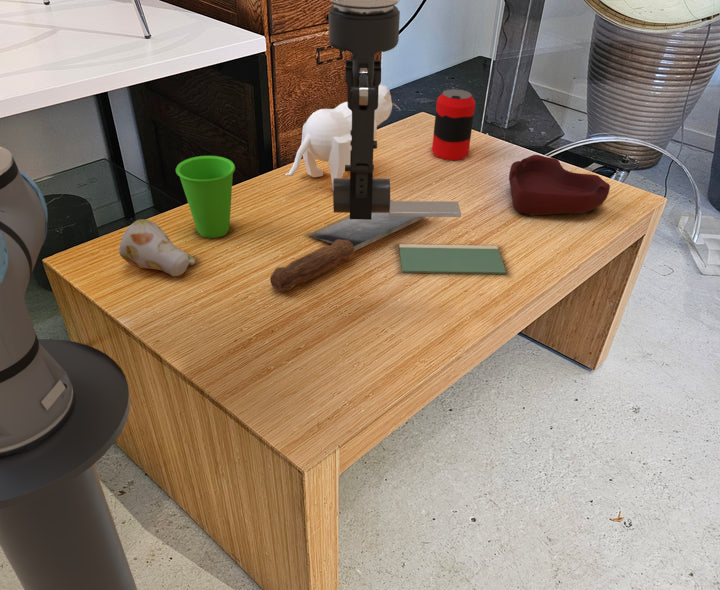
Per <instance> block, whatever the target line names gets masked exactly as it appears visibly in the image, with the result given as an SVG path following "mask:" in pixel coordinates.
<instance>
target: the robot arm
mask: <svg viewBox="0 0 720 590" xmlns="http://www.w3.org/2000/svg"><path fill="white" fill-rule="evenodd" d="M328 1H329V2H330V3H331V4H332V5H331V6H330V8H329V9H328V41H329V43H330V45H331V46H332V47H333V48H334V49H337V50H338V51H341V52H349V53H351V56H350V59H345V69H344V70H345V71H344V72H345V73H344V74H345V76H344V77H345V78H344V80H345V81H344V82H345V84H346V85H347V102H348V108H349V109H350V110H351V111H352V130H351V133H350V135H351V136H352V140H351V142H350V145H351V146H352V150H350V165H345V172H349V178H350V213H349V218H350V219H364V220H371V218H372V186H373V178H374V170H375V165H374V150H377V149H378V140H375V139H374V113H375V110H376V109H377V108H378V92H379V85H380V84H382V67H381V66H382V65H381V63H382V62H381V60H377V59H376V60H375V55H376V54H379V53H385V52H386V53H387V52H389V51H391V50H393V49H395V48H396V47H397V45H398V44H399V36H400V18H401V17H400V16H401V11H400V10H399V7H397V6H396V5H398V3H399V2H400V1H401V0H328ZM48 213H49V212H48V207H47V202H46V199H45V197H44V195H43V192H42V191H41V189H40V188H39V186H38V185H37V183H36V182H35V181H34V180H33V179H32V178H31V176H29V175H28V174H27V173H26V172H23V171H21V170H20V169H19V167H18V165H17V162H16V160H15V158H14V156H13V155H12V152H11V151H9V150H8V149H6V148H5V147H3V146H0V458H5V457H9V456H13V455H16V454H19V453H21V452H24V451H26V450H29V449H31V448H33V447H35V446H37V445H39V444H40V443H42V442H44V441H45V440H47V439H48V438H50V437H51V436H52V435H53V434H55V433H56V432H57V431H58V430H59V429H60V428H61V427H62V426H63V425H64V424H65V423H66V421H67V420H68V419H69V417H70V415H71V413H72V411H73V409H74V406H75V392H74V389H73V386H72V383H71V380H70V378H69V377H68V375H67V373H66V372H65V371H64V369H63V368H62V367H61V366H60V365H59V364H58V363H57V362H56V361H55V360H54V358H53V357H52V356H51V355H50V354H49V353H48V352H47V351H46V350H45V349H44V348H43V346H42V345H41V344H40V343H39V341H38V339H39V338H38V336H37V333H36V329H35V326H34V324H33V321H32V318H31V316H30V313H29V310H28V307H27V304H26V299H25V297H26V296H25V295H26V291H27V288H28V285H29V282H30V279H31V277H32V273H33V271H34V269H35V266H36V263H37V260H38V257H39V256H40V255H39V254H40V252H41V249H42V247H43V245H44V244H45V241H46V238H47V235H48V234H47V233H48V223H49V222H48V221H49V219H48V218H49V217H48V216H49V214H48Z"/></svg>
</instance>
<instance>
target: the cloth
mask: <svg viewBox="0 0 720 590" xmlns="http://www.w3.org/2000/svg"><path fill="white" fill-rule="evenodd" d="M398 250H399V257H400V265H401V273H403V274H442V275H443V274H451V275H452V274H456V275H464V274H465V275H507V271H506V268H505V265H504V262H503V259H502V255H501V253H500V250H499V247H498V245H487V244H486V245H483V244H482V245H481V244H479V245H478V244H422V243H421V244H417V243H416V244H415V243H412V244H411V243H409V244H408V243H406V244H405V243H399V244H398Z"/></svg>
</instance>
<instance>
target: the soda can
mask: <svg viewBox="0 0 720 590" xmlns="http://www.w3.org/2000/svg"><path fill="white" fill-rule="evenodd" d="M475 110H476V101H475V99H474V97H473V95H472V93H471V92H469V91H467V90H464V89H456V88H454V89H446V90H443V91H442V93H441V94H440V95H439V96H438V98H437V99H436V108H435V116H434V127H433V135H432V137H433V138H432V145H431V152H432V154H433V155H434V156H435V157H437V158H438V159H442V160H445V161H459V160H463V159H465V158H466V157H467V156H468V155H469V153H470V145H471V139H472V138H471V137H472V132H473V131H472V130H473V124H474V116H475Z"/></svg>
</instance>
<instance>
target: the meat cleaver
mask: <svg viewBox="0 0 720 590" xmlns="http://www.w3.org/2000/svg"><path fill="white" fill-rule="evenodd" d="M423 219H426V217H389V213H372V218H371V220H364V219H350V217H347V218H346V219H343V220H341V221H338V222H337V223H334V224H332V225H330V226H327V227H325V228H323V229H321V230H319V231H316V232H314V233H312V234H309V237H310V238H314V239H317V240H320V241H323V242H326V243H329V244H330V245H326V246H323V247H320V248H318V249H316V250H314V251H312V252H310V253H308V254H306V255H303V256H302V257H299V258H298V259H295V260H293V261H291V262H290V263H289V264H287V265H286V266H283V267H281V266H280V267H277V268H275V269H274V271H273V272H272V274H271V276H270V278H269V281H270V284H271V286H272V288H273V289H274V290H275V291H278V292H290V291H291V289H293V287H294V286H295V285H302V284H304V283H306V282H308V281H310V280H312V279H314V278H316V277H318V276H320V275H322V274H324V273H326V272H328V271H330V270H331V269H333V268H335V267H337V266H338V265H339V264H344V263H348V262H349V261H350V259H351V258H352V257H353V255H354V253H355V251H357V250H360V249H361V248H364V247H366V246H368V245H370V244H372V243H375V242H376V241H378V240H381V239H383V238H385V237H386V236H389V235H391V234H393V233H395V232H398V231H400V230H401V229H404V228H405V227H408V226H410V225H412V224H414V223H416V222H419V221H421V220H423Z"/></svg>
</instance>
